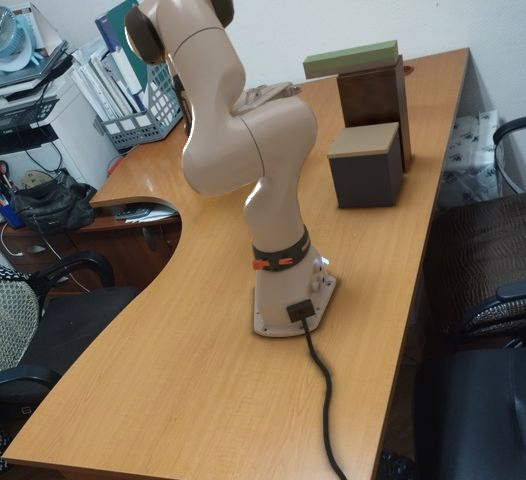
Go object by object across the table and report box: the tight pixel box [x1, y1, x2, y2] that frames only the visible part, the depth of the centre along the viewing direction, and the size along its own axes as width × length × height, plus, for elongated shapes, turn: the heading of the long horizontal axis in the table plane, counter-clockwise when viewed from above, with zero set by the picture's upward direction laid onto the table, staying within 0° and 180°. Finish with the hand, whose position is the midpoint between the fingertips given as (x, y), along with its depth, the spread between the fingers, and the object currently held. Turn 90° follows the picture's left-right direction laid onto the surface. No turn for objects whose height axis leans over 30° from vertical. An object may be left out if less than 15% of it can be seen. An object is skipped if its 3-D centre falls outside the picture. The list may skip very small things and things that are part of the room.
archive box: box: [326, 122, 404, 209], centre depth 126 cm, size 14×12×15 cm
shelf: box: [336, 53, 413, 174], centre depth 130 cm, size 14×8×26 cm, turn 66°
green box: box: [302, 39, 400, 81], centre depth 121 cm, size 22×4×4 cm, turn 66°
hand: (292, 95), depth 132 cm, fingers open, 8 cm apart
